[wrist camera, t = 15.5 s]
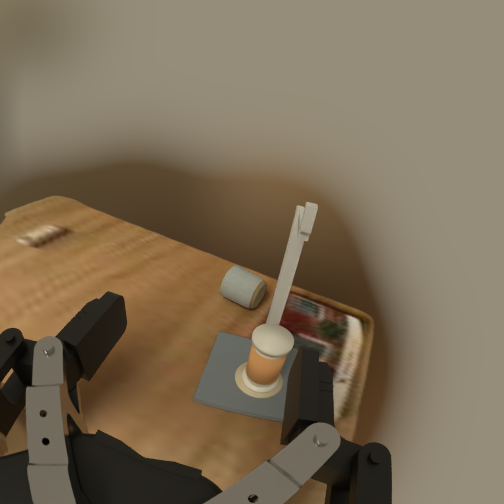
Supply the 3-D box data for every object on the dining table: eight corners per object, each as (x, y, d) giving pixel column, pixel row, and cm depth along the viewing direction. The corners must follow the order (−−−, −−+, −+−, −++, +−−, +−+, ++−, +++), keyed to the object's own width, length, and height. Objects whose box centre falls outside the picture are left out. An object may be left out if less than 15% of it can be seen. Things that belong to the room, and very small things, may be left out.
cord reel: (238, 388, 40) (249, 347, 36) (245, 361, 46) (256, 319, 41) (275, 396, 40) (293, 357, 36) (279, 369, 45) (295, 328, 41)
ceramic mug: (249, 317, 59) (256, 287, 55) (217, 301, 61) (222, 272, 58) (269, 295, 68) (277, 267, 64) (240, 282, 70) (246, 255, 67)
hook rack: (193, 401, 38) (211, 202, 24) (218, 335, 52) (245, 171, 38) (307, 425, 37) (406, 250, 23) (309, 356, 51) (369, 202, 37)
